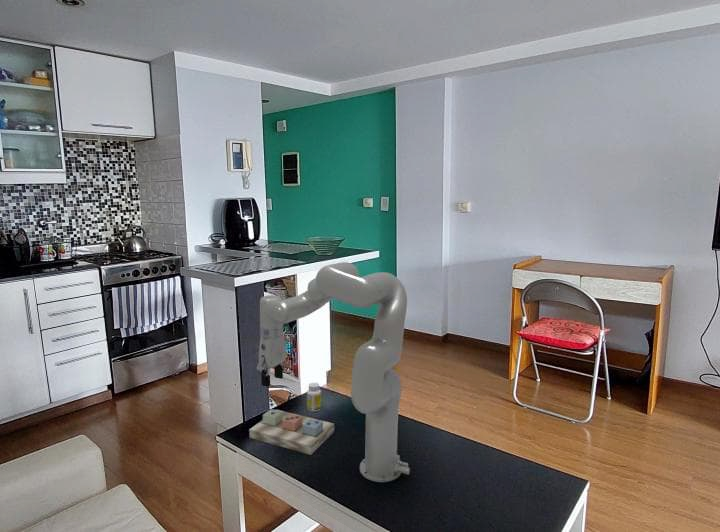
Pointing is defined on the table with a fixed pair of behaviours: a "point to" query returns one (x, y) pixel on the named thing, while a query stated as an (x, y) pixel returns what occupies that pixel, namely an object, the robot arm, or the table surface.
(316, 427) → the key two dots
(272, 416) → the key one dot
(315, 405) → the supplement bottle
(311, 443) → the key panel
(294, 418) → the key three dots
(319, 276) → the robot arm
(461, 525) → the table surface
